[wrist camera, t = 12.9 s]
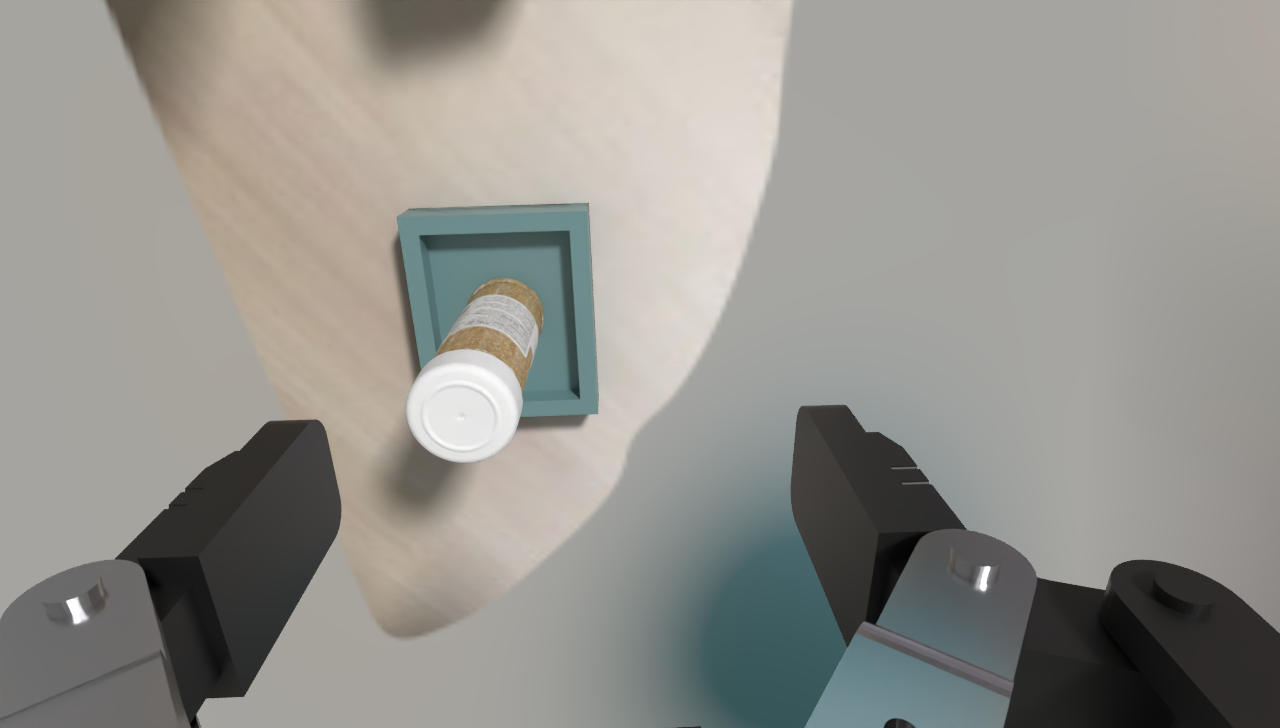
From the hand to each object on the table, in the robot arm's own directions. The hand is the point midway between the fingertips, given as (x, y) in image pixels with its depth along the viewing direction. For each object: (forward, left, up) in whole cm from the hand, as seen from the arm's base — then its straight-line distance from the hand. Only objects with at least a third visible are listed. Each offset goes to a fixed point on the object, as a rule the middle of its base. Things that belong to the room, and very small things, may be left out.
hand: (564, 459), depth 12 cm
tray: (+6, -5, -29) cm, 30 cm away
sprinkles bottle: (+6, -5, -28) cm, 30 cm away
